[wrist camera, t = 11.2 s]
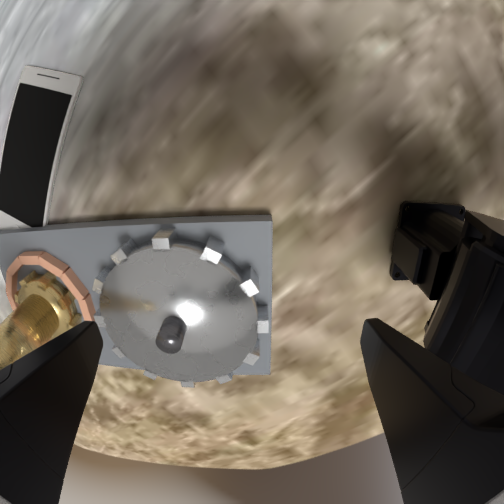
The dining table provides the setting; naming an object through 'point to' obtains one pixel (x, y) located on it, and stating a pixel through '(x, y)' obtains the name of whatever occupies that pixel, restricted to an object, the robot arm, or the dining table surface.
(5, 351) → the gold piece
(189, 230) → the gear board
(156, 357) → the gear
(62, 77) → the smartphone
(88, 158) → the dining table surface
